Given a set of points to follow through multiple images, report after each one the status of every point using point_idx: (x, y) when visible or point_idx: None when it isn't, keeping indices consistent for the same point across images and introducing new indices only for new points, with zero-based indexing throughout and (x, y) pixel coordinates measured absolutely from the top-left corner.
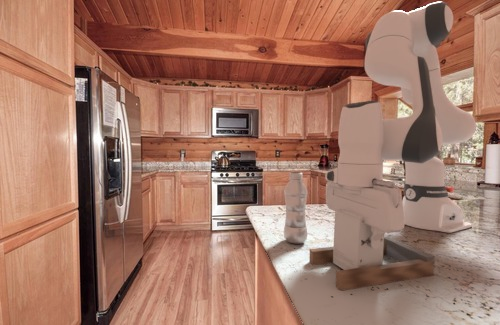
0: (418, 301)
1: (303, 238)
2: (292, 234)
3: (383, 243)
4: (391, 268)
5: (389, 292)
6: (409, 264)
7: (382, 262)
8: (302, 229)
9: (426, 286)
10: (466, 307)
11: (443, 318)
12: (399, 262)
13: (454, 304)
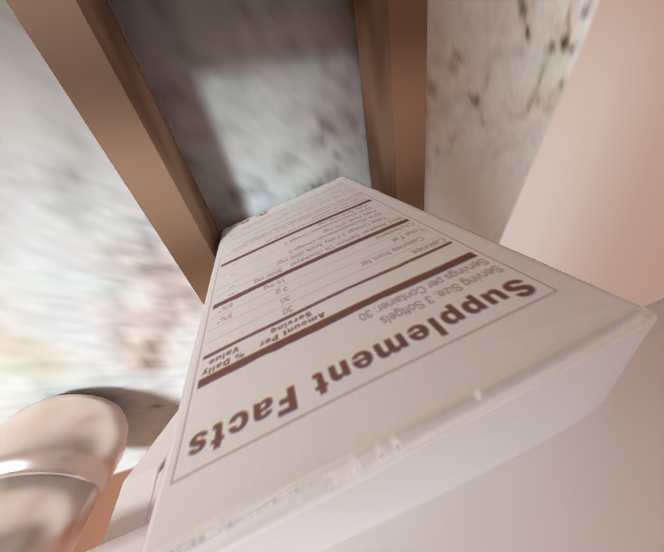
0: (481, 155)
1: (104, 417)
2: (118, 462)
3: (405, 204)
4: (422, 185)
5: (432, 211)
6: (423, 67)
7: (357, 182)
8: (83, 467)
9: (441, 43)
10: (554, 5)
11: (537, 141)
12: (395, 111)
13: (531, 38)
